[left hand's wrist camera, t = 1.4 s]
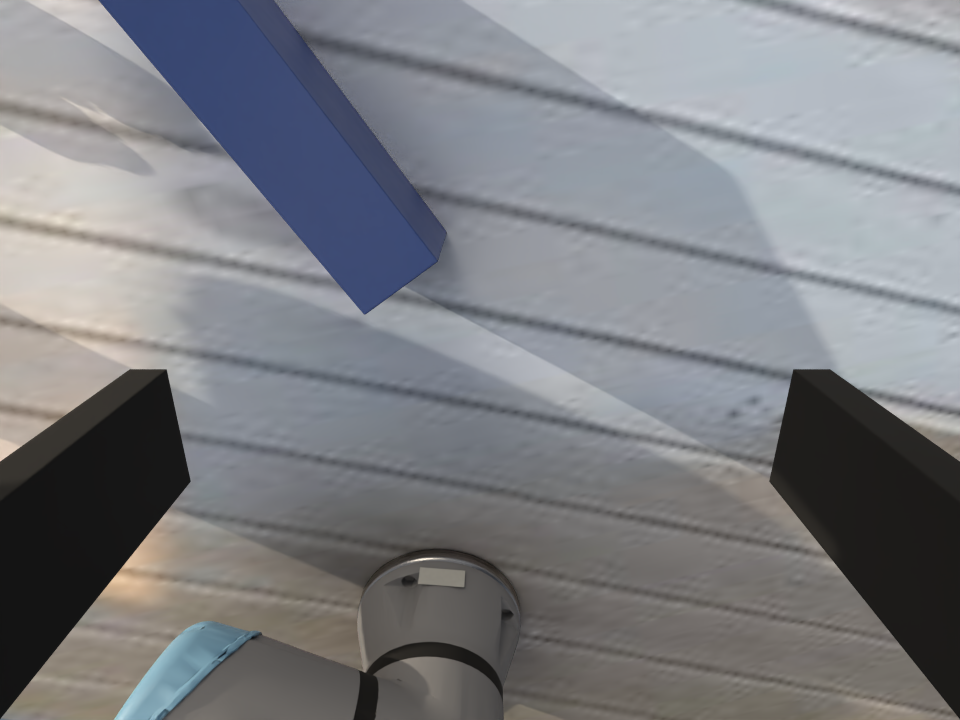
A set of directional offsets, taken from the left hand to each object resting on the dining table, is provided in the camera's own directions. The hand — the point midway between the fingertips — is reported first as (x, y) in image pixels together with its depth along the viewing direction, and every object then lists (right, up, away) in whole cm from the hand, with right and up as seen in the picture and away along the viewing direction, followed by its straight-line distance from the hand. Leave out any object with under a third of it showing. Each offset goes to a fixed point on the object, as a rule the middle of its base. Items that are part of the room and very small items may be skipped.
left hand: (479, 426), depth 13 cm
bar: (-14, +21, +26) cm, 36 cm away
